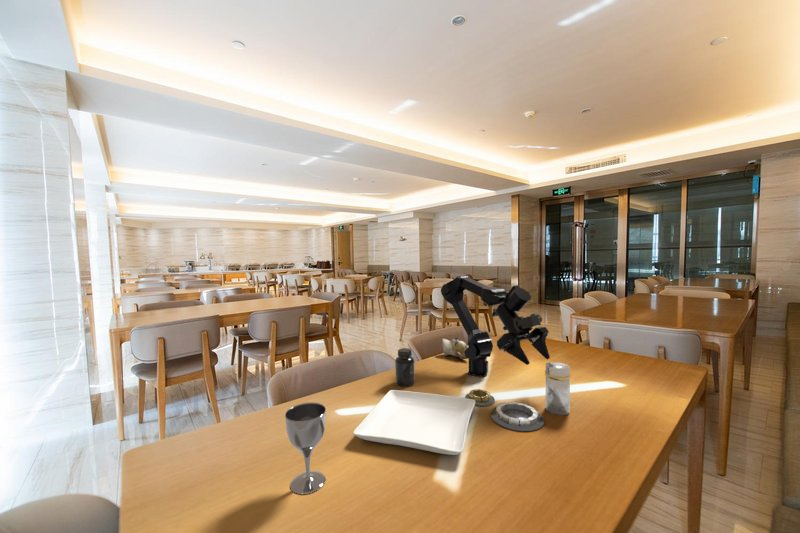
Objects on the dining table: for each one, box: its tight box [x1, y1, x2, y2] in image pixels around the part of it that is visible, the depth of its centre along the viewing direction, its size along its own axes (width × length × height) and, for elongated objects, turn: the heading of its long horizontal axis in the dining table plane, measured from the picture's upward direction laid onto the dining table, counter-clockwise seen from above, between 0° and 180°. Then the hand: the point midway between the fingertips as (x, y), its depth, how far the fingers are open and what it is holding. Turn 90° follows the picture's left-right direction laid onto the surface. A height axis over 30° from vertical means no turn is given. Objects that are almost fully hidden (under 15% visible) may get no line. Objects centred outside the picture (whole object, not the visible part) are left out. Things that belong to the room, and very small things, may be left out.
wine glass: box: [284, 402, 327, 495], centre depth 69 cm, size 8×8×15 cm
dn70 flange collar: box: [490, 401, 545, 433], centre depth 93 cm, size 14×14×2 cm
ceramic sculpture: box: [441, 337, 469, 360], centre depth 147 cm, size 11×9×15 cm
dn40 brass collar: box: [464, 388, 495, 407], centre depth 105 cm, size 9×9×2 cm
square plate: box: [352, 389, 476, 456], centre depth 90 cm, size 27×27×4 cm
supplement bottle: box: [394, 347, 416, 388], centre depth 119 cm, size 7×7×12 cm
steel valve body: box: [544, 361, 572, 416], centre depth 97 cm, size 7×7×13 cm
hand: (538, 361), depth 103 cm, fingers open, 9 cm apart
